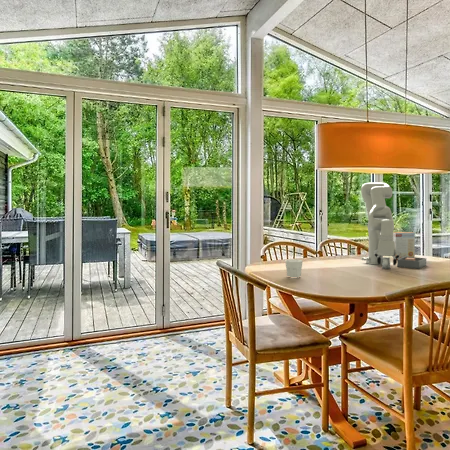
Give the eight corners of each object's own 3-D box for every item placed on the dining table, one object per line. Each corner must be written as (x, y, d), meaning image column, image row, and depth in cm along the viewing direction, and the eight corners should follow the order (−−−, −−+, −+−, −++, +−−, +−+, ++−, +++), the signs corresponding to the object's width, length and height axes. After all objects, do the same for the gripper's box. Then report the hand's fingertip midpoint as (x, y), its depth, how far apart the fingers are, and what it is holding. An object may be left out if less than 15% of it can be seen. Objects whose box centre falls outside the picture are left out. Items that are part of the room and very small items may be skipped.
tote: (419, 268, 245) (419, 261, 245) (397, 266, 254) (397, 259, 254) (426, 265, 258) (426, 258, 258) (405, 263, 267) (405, 256, 267)
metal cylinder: (381, 268, 247) (381, 258, 246) (382, 267, 251) (382, 257, 251) (390, 269, 244) (389, 258, 244) (390, 267, 248) (390, 257, 248)
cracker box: (411, 259, 288) (412, 231, 286) (414, 260, 282) (415, 232, 280) (392, 259, 289) (393, 231, 288) (395, 260, 283) (395, 232, 282)
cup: (285, 278, 217) (285, 261, 217) (285, 275, 227) (285, 259, 226) (303, 279, 216) (303, 261, 215) (301, 275, 226) (301, 259, 225)
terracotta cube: (412, 266, 250) (413, 259, 250) (404, 265, 253) (405, 258, 253) (415, 265, 254) (415, 258, 253) (407, 264, 257) (407, 257, 257)
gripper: (371, 238, 249) (371, 264, 249) (399, 239, 237) (398, 266, 238) (375, 237, 255) (375, 263, 255) (402, 238, 243) (402, 265, 244)
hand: (386, 264), depth 247 cm, fingers open, 9 cm apart
